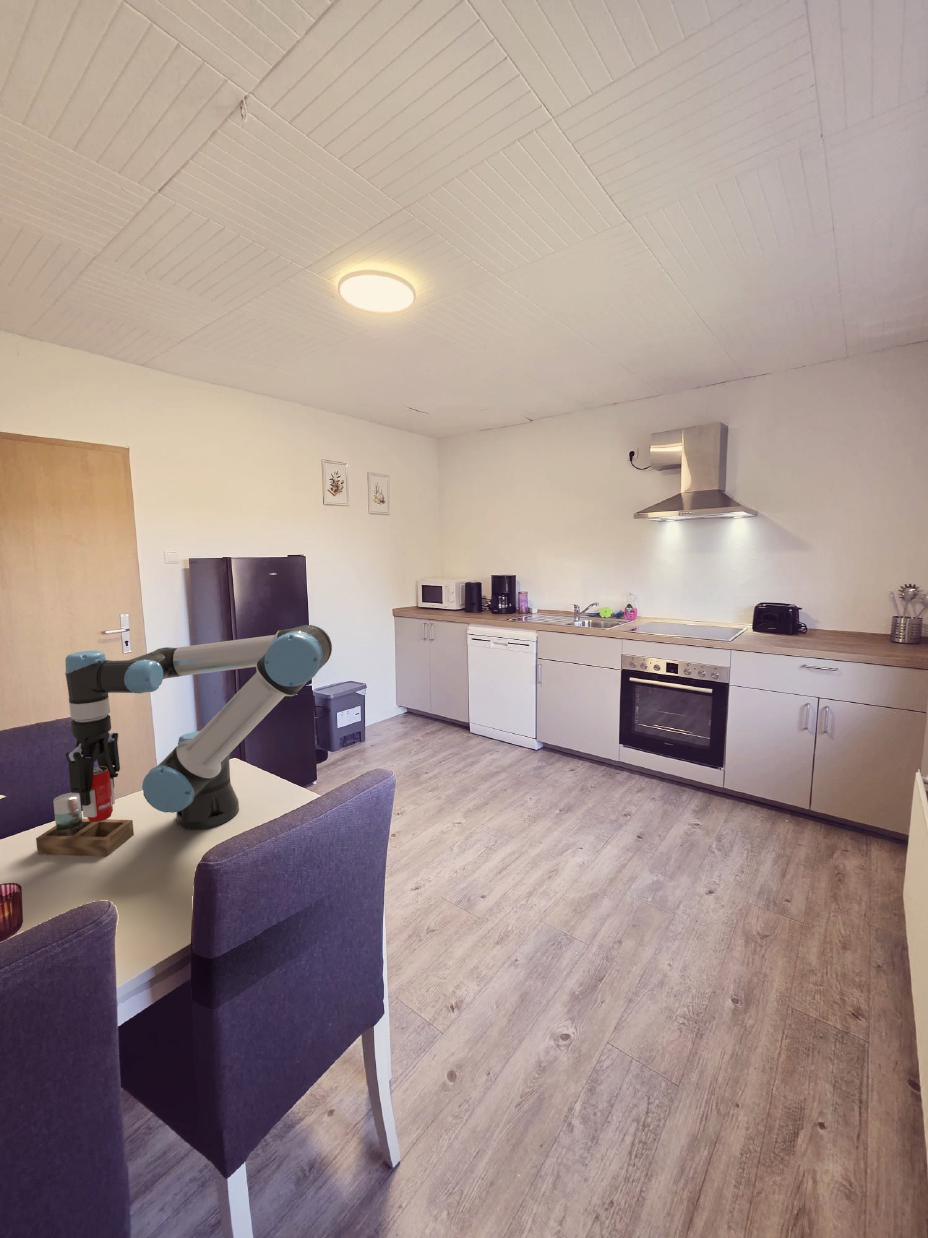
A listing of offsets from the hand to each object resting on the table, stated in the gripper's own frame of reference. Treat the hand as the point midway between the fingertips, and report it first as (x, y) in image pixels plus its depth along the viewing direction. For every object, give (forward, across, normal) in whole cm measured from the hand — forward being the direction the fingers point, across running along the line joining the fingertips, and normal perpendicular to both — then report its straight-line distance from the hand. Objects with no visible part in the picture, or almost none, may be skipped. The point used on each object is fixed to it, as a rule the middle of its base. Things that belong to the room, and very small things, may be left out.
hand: (99, 809), depth 123 cm
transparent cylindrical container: (+9, 0, -8) cm, 12 cm away
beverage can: (+2, 0, 0) cm, 2 cm away
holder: (+9, 0, -4) cm, 10 cm away
